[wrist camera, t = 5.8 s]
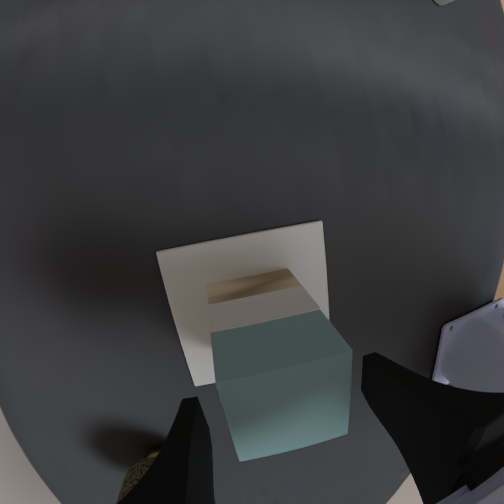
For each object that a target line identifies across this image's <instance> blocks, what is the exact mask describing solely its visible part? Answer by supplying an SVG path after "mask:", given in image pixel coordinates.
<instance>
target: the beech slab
mask: <svg viewBox="0 0 504 504" xmlns="http://www.w3.org/2000/svg"><path fill="white" fill-rule="evenodd" d="M300 285H301V284H300V282H299V281H298V280H297V279H296V277H295V276H294V275H293V274H292V273H291V271H290V270H289V269H288V268H287V269H282V270H277V271H272V272H267V273H262V274H257V275H252V276H247V277H242V278H237V279H232V280H227V281H222V282H217V283H212V284H207V295H208V304H214V303H219V302H224V301H229V300H234V299H239V298H244V297H249V296H254V295H259V294H263V293H268V292H273V291H277V290H282V289H287V288H291V287H296V286H300Z"/></svg>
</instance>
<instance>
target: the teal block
mask: <svg viewBox="0 0 504 504" xmlns="http://www.w3.org/2000/svg"><path fill="white" fill-rule="evenodd" d="M210 334H211V345H212V355H213V364H214V374H215V383H216V386H217V390H218V393H219V397H220V400H221V404H222V407H223V410H224V414H225V417H226V420H227V423H228V427H229V430H230V433H231V436H232V439H233V442H234V445H235V449H236V452H237V455H238V458H239V461H245V460H251V459H256V458H261V457H265V456H270V455H274V454H279V453H283V452H287V451H291V450H295V449H299V448H302V447H306V446H309V445H313V444H316V443H320V442H323V441H326V440H330V439H333V438H336V437H339V436H342V435H345V434H348V423H349V410H350V396H351V378H352V353H353V350H352V349H351V347H350V346H349V345H348V344H347V342H346V341H345V340H344V339H343V337H342V336H341V335H340V334H339V332H338V331H337V330H336V329H335V327H334V326H333V325H332V324H331V322H330V321H329V320H328V319H327V317H326V316H325V315H324V314H323V312H322V311H321V310H320V309H319V310H315V311H311V312H306V313H302V314H298V315H294V316H289V317H285V318H280V319H276V320H271V321H266V322H262V323H257V324H252V325H247V326H242V327H237V328H232V329H227V330H222V331H216V332H211V333H210Z"/></svg>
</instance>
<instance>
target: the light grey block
mask: <svg viewBox="0 0 504 504" xmlns="http://www.w3.org/2000/svg"><path fill="white" fill-rule="evenodd" d="M208 306H209V317H210V328H211V332H216V331H222V330H227V329H232V328H237V327H242V326H247V325H252V324H257V323H262V322H266V321H271V320H276V319H280V318H285V317H289V316H294V315H298V314H302V313H306V312H311V311H315V310H319V309H320V310H321V308H320V307H319V305H318V304H317V303H316V302H315V300H314V299H313V298H312V297H311V296H310V294H309V293H308V292H307V291H306V289H305V288H304V287H303V286H302V285H300V286H296V287H291V288H287V289H282V290H277V291H273V292H268V293H263V294H259V295H254V296H249V297H244V298H239V299H234V300H229V301H224V302H219V303H214V304H208Z"/></svg>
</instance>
